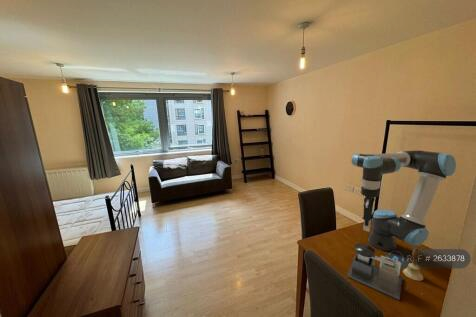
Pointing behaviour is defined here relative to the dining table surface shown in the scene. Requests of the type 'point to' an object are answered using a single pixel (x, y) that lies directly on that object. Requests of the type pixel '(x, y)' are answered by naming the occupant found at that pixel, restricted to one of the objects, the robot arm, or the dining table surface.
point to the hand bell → (414, 267)
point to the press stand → (378, 276)
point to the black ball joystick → (368, 254)
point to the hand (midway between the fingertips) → (366, 230)
